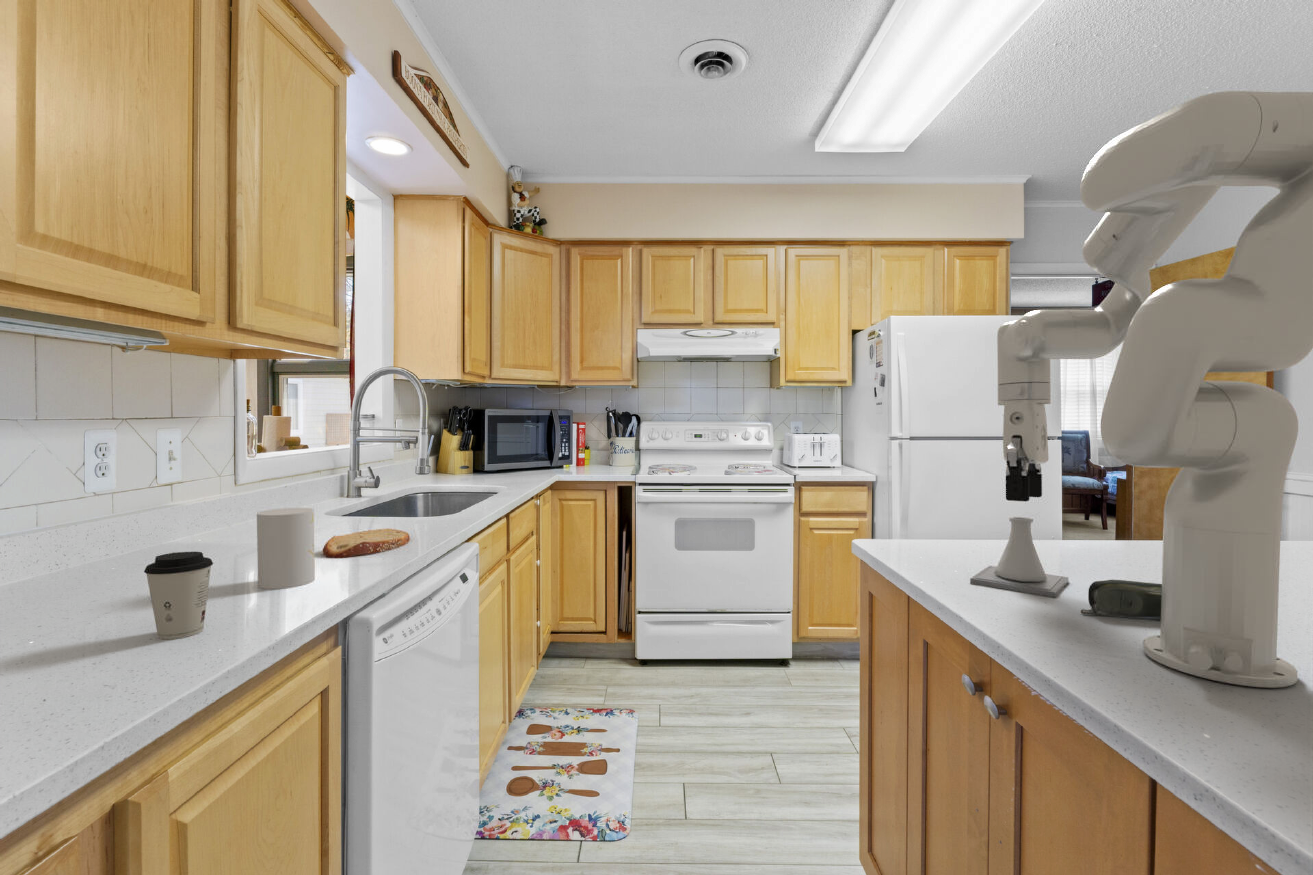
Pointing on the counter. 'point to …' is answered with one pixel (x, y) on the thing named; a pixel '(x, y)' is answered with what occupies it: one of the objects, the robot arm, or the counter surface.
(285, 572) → the cup
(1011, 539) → the flask
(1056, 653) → the counter surface
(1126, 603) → the dark green rounded block
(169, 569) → the coffee cup
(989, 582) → the grey square plate
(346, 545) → the slice of bread
